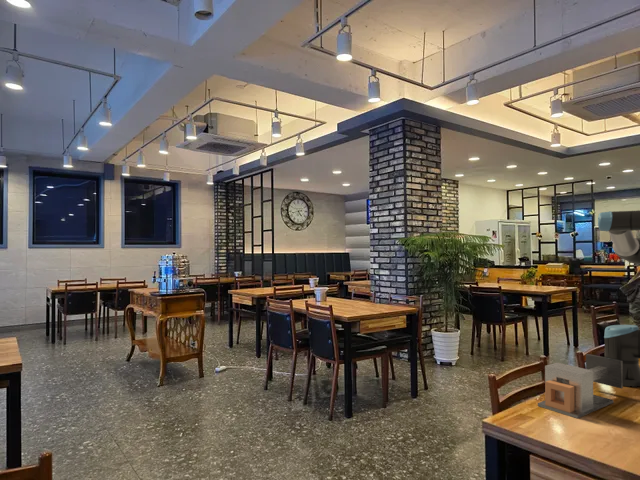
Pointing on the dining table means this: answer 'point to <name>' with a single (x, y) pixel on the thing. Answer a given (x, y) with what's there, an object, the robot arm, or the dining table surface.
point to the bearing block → (575, 389)
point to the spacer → (568, 396)
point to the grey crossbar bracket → (604, 370)
